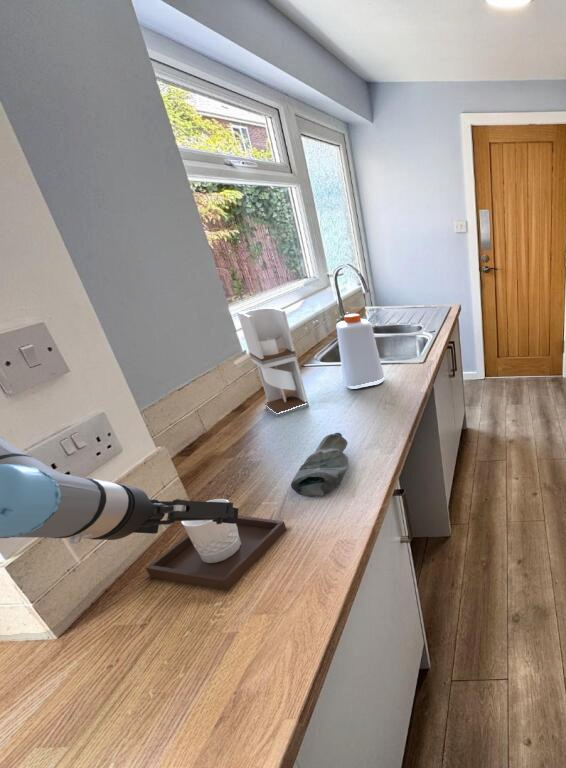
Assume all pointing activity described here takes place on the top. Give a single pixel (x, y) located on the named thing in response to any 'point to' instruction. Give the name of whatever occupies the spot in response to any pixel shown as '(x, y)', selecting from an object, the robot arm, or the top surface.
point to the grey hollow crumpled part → (322, 468)
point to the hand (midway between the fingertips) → (196, 520)
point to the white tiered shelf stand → (274, 358)
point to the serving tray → (191, 569)
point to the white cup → (213, 538)
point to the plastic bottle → (358, 351)
